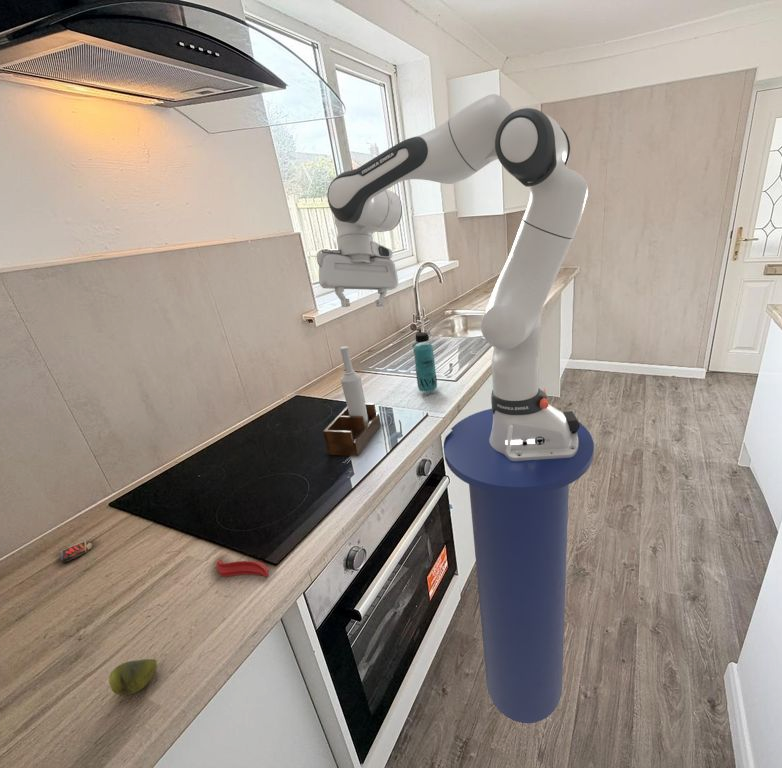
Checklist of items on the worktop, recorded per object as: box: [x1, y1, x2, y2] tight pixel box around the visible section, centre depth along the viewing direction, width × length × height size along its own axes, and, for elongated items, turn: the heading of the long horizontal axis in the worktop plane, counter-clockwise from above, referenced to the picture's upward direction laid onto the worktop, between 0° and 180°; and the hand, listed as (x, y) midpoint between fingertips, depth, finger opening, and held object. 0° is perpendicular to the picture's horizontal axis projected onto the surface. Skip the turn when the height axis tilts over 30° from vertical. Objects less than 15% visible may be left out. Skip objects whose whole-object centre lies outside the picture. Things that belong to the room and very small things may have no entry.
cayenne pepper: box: [215, 558, 269, 578], centre depth 73 cm, size 12×5×2 cm, turn 62°
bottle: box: [339, 345, 369, 426], centre depth 110 cm, size 5×5×25 cm
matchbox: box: [60, 540, 93, 563], centre depth 81 cm, size 5×5×1 cm
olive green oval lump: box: [108, 658, 158, 697], centre depth 55 cm, size 4×5×5 cm
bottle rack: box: [322, 402, 382, 457], centre depth 110 cm, size 8×16×7 cm, turn 169°
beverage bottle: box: [413, 332, 438, 393], centre depth 132 cm, size 6×7×20 cm
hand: (363, 306), depth 104 cm, fingers open, 8 cm apart
